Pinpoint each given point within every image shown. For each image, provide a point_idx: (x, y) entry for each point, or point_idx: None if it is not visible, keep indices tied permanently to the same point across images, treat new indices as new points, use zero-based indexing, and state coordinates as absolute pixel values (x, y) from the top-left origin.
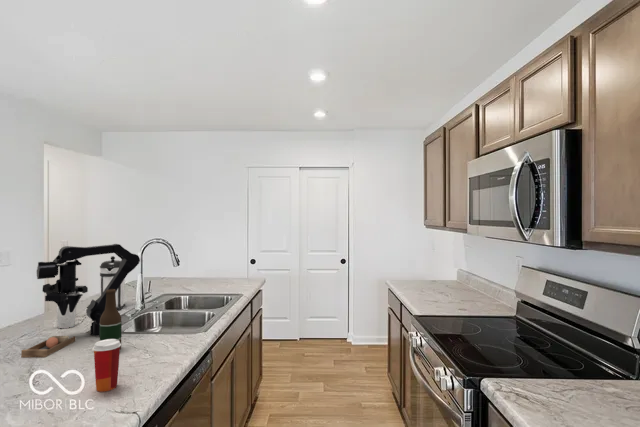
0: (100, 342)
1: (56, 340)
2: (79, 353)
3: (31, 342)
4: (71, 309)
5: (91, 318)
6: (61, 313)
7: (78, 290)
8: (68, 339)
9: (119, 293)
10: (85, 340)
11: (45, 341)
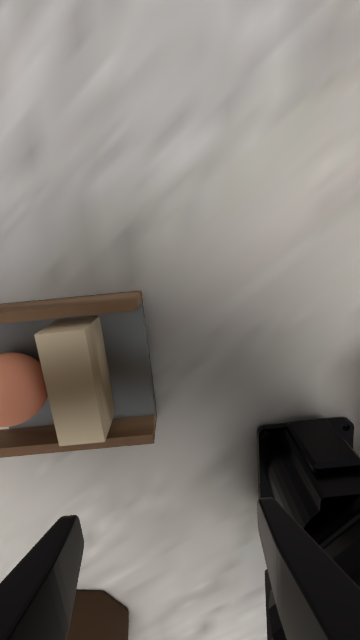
0: None
1: (5, 426)
2: (25, 527)
3: (147, 88)
4: (271, 568)
5: (271, 601)
6: (37, 548)
7: None
8: (87, 444)
9: None
10: (217, 430)
11: (22, 321)
